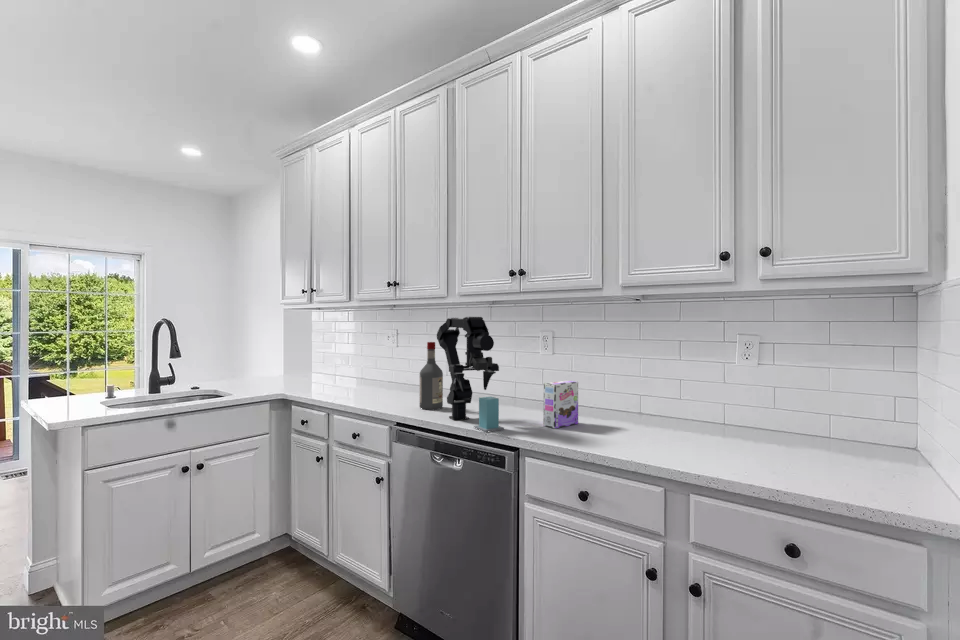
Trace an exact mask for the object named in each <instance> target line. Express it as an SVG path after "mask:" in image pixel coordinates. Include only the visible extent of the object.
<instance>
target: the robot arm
mask: <svg viewBox="0 0 960 640" xmlns="http://www.w3.org/2000/svg"><path fill="white" fill-rule="evenodd" d="M450 328H452V329H450ZM453 328H455V329H453ZM460 329H462V330H463V331H464V332H466V333H465V335H464V338H466V351H465V352H464V353H465V355H466V362H465V365H463V364H461V362H460V358H459V353H458V351H457V343H458V342H459V341H458V340H459V339H458V338H459V336H460V334H461V332H460ZM436 340H437V342H438V345H439V346H440V348H442V349H443V350H444V352H445V357H446V360H447V361H446V363H447V366H448V372H449V373H450V377H451V384H450V387H449V393H448V395H447V397H446V401H447V404H448V405H451V415H449V416H448V418H449V419H451V420H454V421H460V420H459V419H463V420H470V418H469V417H468V416H467V404H472V398H473V389H472V385H471V382H470V380H469V378H468V379H466V378H464V377H465V373H463V372H464V371H477V372H480V371H482V373H483V374H482V379H483V390H484V391H486V390H487V389H488V385H489V382H490V379H491V378H492V376H493V375H495V374H496V373H497V372H499V371H500V366H499V364H498V363H495V362H493V357H492V356H486V357H484V352H483V351H485V352H488V351H491V350H492V349H493V348H494V345H495V342H494V339H493V337H492V336H490V331H489V328H488V326H487V323H486V322H485V320H484V317H482V316H465V317H463V318H459V317H447V319H446V321H445V322H444V323H443V324H441V325H440V326H439V329H438V331H437V333H436Z"/></svg>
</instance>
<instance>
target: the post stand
mask: <svg viewBox="0 0 960 640" xmlns="http://www.w3.org/2000/svg"><path fill="white" fill-rule="evenodd" d="M474 427H475V428H477V429H480V430H482V431H484V432H483V433H485V432H486V433H489V432H488V431H493V432H496V431H495V430H500V431H504V430H505V427H503V426H501V425H499V427H498V428H491V429H485V428H482V427H479V424H478V425H473V428H474ZM477 429H476V430H477ZM480 430H479V431H480ZM482 431H481V432H482Z"/></svg>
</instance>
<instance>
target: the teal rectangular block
mask: <svg viewBox="0 0 960 640" xmlns="http://www.w3.org/2000/svg"><path fill="white" fill-rule="evenodd" d="M499 401H500V399H499V398H498V397H495V396H484V397H478V425H479V427H482V428H485V429H491V428H498V427H499V426H500V423H499V421H500V418H499V417H500V415H499V414H500V411H499V409H500V407H499V406H500V404H499V403H500V402H499Z"/></svg>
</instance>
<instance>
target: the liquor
mask: <svg viewBox="0 0 960 640" xmlns="http://www.w3.org/2000/svg"><path fill="white" fill-rule="evenodd" d="M426 344H427V345H426V349H427V360H426V364H424V365H423V367H422V368H421V369H420V371H419V408H420V409H421V408H422V409H421V410H424V409H430V410H429V411H437V409H438V410H439V409H442V407H443V406H444V404H443V403H444V402H443V401H444V400H443V398H444V392H443V391H444V389H443V388H444V386H443V385H444V383H443V382H444V378H443V377H444V376H443V375H444V373H443V370H442V369H441V368H440V366H439V365H438V364H437V363H436V362H437V361H436V342H435V341H427V342H426Z"/></svg>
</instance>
